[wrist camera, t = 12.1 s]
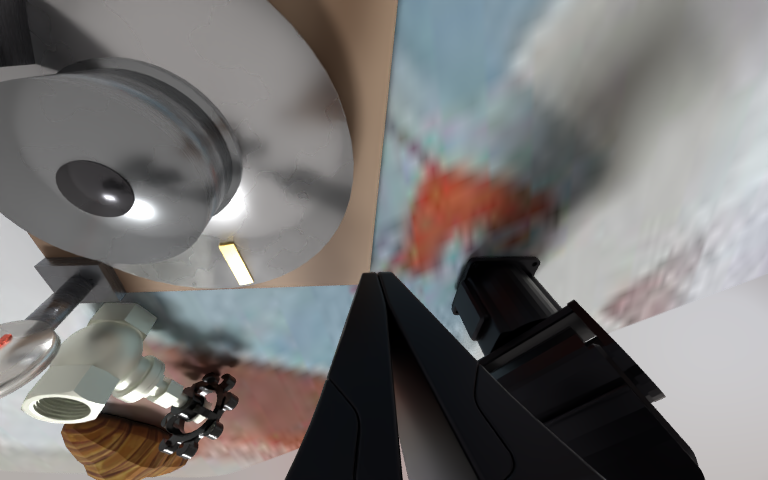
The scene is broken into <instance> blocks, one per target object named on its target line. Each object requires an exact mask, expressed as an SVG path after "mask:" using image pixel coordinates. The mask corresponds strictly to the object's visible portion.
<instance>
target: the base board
mask: <svg viewBox="0 0 768 480" xmlns="http://www.w3.org/2000/svg"><path fill="white" fill-rule="evenodd" d="M268 1H269V2H270V3H271V4H272V5H273V6H274V7H275V8H276V9H277V10H278V11H279V12H280V13H281V14H282V15H283V16H285V17H286V18H287V19H288V20H289V21H290V22H291V23H292V24H293V26H294V27H295V28H296V29H297V30H298V32H299V33H300V34H301V35H302V37H303V38H304V39H305V40H306V41H307V43H308V44H309V45H310V46H311V48H312V49H313V51H314V52H315V54H316V55H317V57H318V58H319V60H320V61H321V63H322V65H323V66H324V68H325V69H326V71H327V73H328V75H329V77H330V79H331V81H332V83H333V85H334V87H335V89H336V91H337V93H338V96H339V99H340V101H341V104H342V107H343V110H344V112H345V116H346V120H347V124H348V129H349V133H350V137H351V142H352V151H353V161H354V166H353V184H352V190H351V195H350V200H349V203H348V206H347V209H346V212H345V215H344V217H343V219H342V221H341V223H340V225H339V227H338V229H337V230H336V232H335V233H334V235H333V236H332V238H331V239H330V240H329V242H328V243H327V244H326V245H325V246H324V247H323V248H322V249H321V250H320V251H319V252H318V253H317V254H316V255H315V256H314V257H312V258H311V259H310V260H309V261H308V262H306V263H305V264H303V265H301V266H300V267H298V268H297V269H295V270H293V271H291V272H289V273H287V274H285V275H283V276H281V277H278V278H275V279H272V280H269V281H266V282H262V283H258V284H254V285H250V286H243V287H235V288H218V289H243V288H272V287H300V286H329V285H357V284H359V281H360V278H361V275H362V273H366V272H370V263H371V253H372V244H373V234H374V224H375V215H376V205H377V196H378V186H379V176H380V167H381V157H382V148H383V138H384V129H385V119H386V109H387V100H388V90H389V81H390V71H391V61H392V52H393V42H394V33H395V23H396V13H397V4H398V0H268ZM28 234H29V235H30V237H31V238H32V239H33V241H34V242H35V244H36V245H37V246H38V248H39V249H40V250H41V252H42V253H43V255H44V256H45V257H46V258H47V257H82V256H79V255H76V254H73V253H70V252H68V251H65V250H62V249H60V248H58V247H55V246H53V245H51V244H49V243H47V242H45V241H43V240H41V239H39V238H37V237H35V236H33V235H32V234H30V233H28ZM113 269H114V271H115V272H116V274H117V276H118V278H119V279H120V281H121V283H122V285H123V286H124V288H125V290H126V292H127V293H129V292H157V291H186V290H214V289H210V288H193V287H184V286H176V285H171V284H166V283H162V282H157V281H153V280H149V279H146V278H142V277H139V276H135V275H132V274H130V273H127V272H124V271H122V270H119V269H116V268H113Z"/></svg>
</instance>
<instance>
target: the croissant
mask: <svg viewBox="0 0 768 480" xmlns="http://www.w3.org/2000/svg"><path fill="white" fill-rule="evenodd" d="M61 434H62V437H63V440H64V443H65V445H66V447H67V448H68V450H69V451H70V452H71V453H72V455H73V456H74V457H75V458H76V459H77V461H79V462H80V463H82V464H83V465H84V467H85V469H86V471H87V474H88V475H89V476H91V477H93V478H94V479H96V480H141V479H143V478H145V477H156V476H159V475H163V474H167V473H171V472H173V471H175V470H177V469H179V468H181V467H182V466H184V465H185V464H186V462H187V461H188V459H185V458H182V457H179V456H177V455H176V451H175V452H174V453H173V454H170V455H169V454H166V453H163V452H161V451H159V449H158V447H159V444H160V442H161V441H162V440H163V438H165V439H167V440H168V439H170V438H171V437H172V436H170V435H169V434H168V433H166V432H165V431H163V430H161V429H159V428H158V427H155V426H151V425H147V424H143V423H138V422H134V421H130V420H128V419H125V418H121V417H117V416H112V415H107V414H103V413H99V414H98V416H97V417H96V419H94V420H91V421H86V422H81V423H71V424H64V426H63V429H62V431H61ZM183 446H184V443H181V444H180V446H179V448H182V447H183Z"/></svg>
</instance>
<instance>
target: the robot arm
mask: <svg viewBox="0 0 768 480" xmlns="http://www.w3.org/2000/svg"><path fill="white" fill-rule="evenodd" d="M475 263H476V264H475ZM473 264H474V265H473ZM539 265H540V260H539V259H538V258H537V257H495V258H472V259H470V260H469V262H468V264H467V266H466V269H465V272H464V275H463V278H462V280H461V282H460V284H459V287H458V290H457V293H456V296H455V298H454V301H453V302H454V303H453V306H452V309H451V310H452V312H453V314H454V315H460V317H461V319H462V321H463V323H464V325H465V327H466V330H467V332H468V334H469V336H470V338H471V339H472V340H473V341H477V342H478V344H479V346H480V348H481V350H482V352H483V354H484V357H482V358H481V359H479V360H478V361H477V360H476V359H475V358H474V357H473V356H472V355H471V354H470V353H469V352H468V351H467V350H466V349H465V348H464V347H463V346H462V345H461V343H460V342H459V341H458V340H457V339H456V338H455V337H454V336H453V335H452V334H451V333H450V332H449V331H448V330H447V329H446V328H445V327H444V326H443V325H442V324H441V323H440V322H439V321H438V320H437V318H436V317H435V316H434V315H433V314H432V313H431V312H430V311H429V310H428V309H427V308H426V307H425V306H424V305H423V304H422V303H421V302H420V301H419V300H418V299H417V298H416V297H415V296H414V295H413V294H412V292H411V291H410V290H409V289H408V288H407V287H406V286H405V285H404V284H403V283H402V282H401V281H400V280H399V279H398V278H397V277H396V276H395V275H394V274H393V273H392V272H379V273H375V272H366V273H362V275H361V278H360V281H359V284H358V287H357V290H356V293H355V296H354V299H353V302H352V305H351V307H350V310H349V313H348V316H347V319H346V322H345V325H344V328H343V331H342V334H341V337H340V340H339V343H338V346H337V349H336V352H335V355H334V358H333V361H332V364H331V367H330V370H329V373H328V376H327V380H326V381H325V384H324V387H323V390H322V393H321V396H320V399H319V401H318V404H317V407H316V409H315V412H314V415H313V417H312V420H311V423H310V425H309V427H308V430H307V432H306V434H305V437H304V439H303V441H302V443H301V446H300V448H299V450H298V453H297V455H296V457H295V459H294V461H293V463H292V466H291V467H290V470H289V472H288V474H287V476H286V478H285V480H403V478H402V466H401V455H400V445H399V439H400V443H401V448H402V452H403V457H404V461H405V465H406V470H407V474H408V478H409V480H705V478H704V475H703V473H702V471H701V469H700V468H699V467H698V463H697V459H696V457H695V454H694V452H693V451H692V450H691V448H690V447H689V446H688V445H687V443H686V442H685V441H684V440H683V439H682V438H681V437H680V436H679V434H678V433H677V432H676V431H675V430H674V429H673V428H672V427H671V425H670V424H669V423H668V422H667V421H666V420H665V419H664V418H663V416H662V415H661V414H660V413H659V412H658V411H657V410H656V409H655V407H654V406H653V405H652V404H651V403H652V402H654V401H655V402H656V401H658V400H660V399H663V398H665V395H664V394H663V393H662V392H661V390H660V389H659V388H658V387H657V386H656V385H655V384H654V382H652V380H651V379H650V378H649V377H648V376H647V375H646V374H645V373H644V371H643V370H642V369H641V368H640V367H639V366H638V365H637V364H636V363H635V362H634V361H633V360H632V359H631V357H630V356H629V355H628V354H627V353H626V352H625V351H624V350H623V349H622V348H621V347H620V346H619V345H618V344H617V343H616V342H615V341H614V340H613V339H612V338H611V337H610V336H609V335H608V334H607V333H606V332H605V331H604V330H603V328H602V327H601V326H600V325H599V324H598V323H597V322H596V321H595V320H594V319H593V318H592V317H591V316H590V315H589V314H588V313H587V312H586V311H585V310H584V309H583V308H582V307H581V306H580V305H579V304H578V303H577V302H576V301H575V300H572V301H571V302H569V303H567V306H565V307H564V308H561V307H560V306H559V305H558V303H557V302H556V301H555V300H554V299H553V298H552V296H551V295H550V294H549V293H548V292H547V291H546V290H545V288H544V287H543V286H542V285H541V284H540V283H539V282H538V280H537V279H536V278H535V277H534V274H535V272H536V270H537V268H538V267H539ZM594 336H595V337H594ZM592 337H594V338H593V339H591V338H592ZM589 339H591V340H589ZM587 340H589V341H587ZM585 341H587V342H585Z"/></svg>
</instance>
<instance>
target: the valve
mask: <svg viewBox="0 0 768 480" xmlns="http://www.w3.org/2000/svg"><path fill="white" fill-rule="evenodd" d="M156 320H157V318H156V317H155V316H154V315H153V314H151V313H150V312H149V311H147V310H146V309H144V308H143V307H142V306H140V305H139V304H137V303H112V302H107V303H104V304H103V305H102V306H101V308H100V309H99V310H98V311H97V312H96V314H95V315H94V316H93V317H92V318H91V319H90V321H89V323H88V325H87V327H85V328H82V329H80V330H79V331H77V332H75V333H74V334H72V335H71V336H70V337H69V338H67V339H66V340H65V341H64V342H63V343H62V344H61V345H60V349H59V351H58V353H57V355H56V357H55V358H54V359H53V361H52V362H51V363H50V368H49V369H48V370H47V372H46V373H45V374H44V375H43V376H42V378H41V379H40V380H39V381H38V382H37V383H36V385H35V386H34V387H33V388H32V389H31V391H30V392H29V393H28V395H27V396H26V398H25V400H24V402H23V404H22V407H21V410H22V411H23V412H25V413H26V414H28V415H29V416H31V417H33V418H36V419H39V420H42V421H47V422H52V423H63V424H71V423H81V422H86V421H91V420H94V419H96V417H97V416H98V414H99V413H100V411H101V410H102V408H103V407H104V405H105V404H106V402H107V400H108V399H109V397H110V395H111V394H113V396H114V397H115V398H117V399H120V400H122V401H124V402H126V403H132V402H135V401H137V400H139V399H141V398H142V397H144V398H146V397H147V399H148V400H150V401H152V402H154V403H156V404H158V405H160V406H162V407H164V408H166V409H167V408H168V407H170V406H171V405H172V407H171V412H170V413H168V414H167V415H166V416H165V417H164V418H163V420H162V422H161V426H162V427H164V428H166V430H167V431H168V432H169V433H171V434H173V436H172V437H171V438H170V439H168V440H167V439H165V438H163V440H162V441H161V442H160V444H159V447H158V449H159V451H161V452H163V453H166V454H169V455H170V454H173V453H174V452H175V451H176V455H177V456H179V457H182V458H185V459H190V458H191V457H193V456H194V455H195V453H196V452H197V450H198V442H199V440H200V439H201V438H202V437H204V436H206V437H208V438H210V439H212V440H214V439H217V438H218V437H219V436H220V435H221V433H222V431H223V424H221V423H220V422H219V419H220V418H221V416H222V414H223V412H224V411H226V410H232V409H234V408H235V407H236V405H237V404H238V400H239V399H238V397H237V396H235V395H234V394H232V393H231V392H228V390H230V389H232V388H233V387H234V385H235V383H236V379H235V378H234V377H232V376H231V375H230V374H224V375H223V376H222V377H221V378H222V379H224V380H223V382H222V383H221V384H219V385H218V382H219V380H220V378H219V376H217V375H216V374H214V373H213V372H211V373H208V374H206V375H205V376H204V377H203V379H202V380H203V381H200V382H197V383H195V384H193V385H192V386H191V387H187V388H185V389H184V390H183V388H184V386H182V385H180V384H179V383H177V382H175V381H174V380H172V379H169V378H166V377H165V378H164V376H165V375H163V373H164V371H165V364H164V363H163V362H162V361H160V360H159V359H157V358H156V357H154V356H145V357H143V356H142V351H143V341H144V339H145V338H146V336H147V334H148V333H149V331H150V330H151V328H152V326H153V325H154V323H155V321H156ZM212 392H216V394H217V403H216V406H215V409H214V411H211V405H212V404H211V403H209V402H208V401H206V397H204V396H205V395H207V394H209V393H212ZM227 392H228V393H227ZM205 418H207V419H208V420H207V421H206V422H205V423H204V424H203V425H202V426H201V427H200V428H198V429H197V430H195V431H193V432H191V433H185V432H184V423H185V421H186V422H190V421H193V422H195V423H197V424H198V423H200V422H201V421H203V420H204V419H205ZM181 443H184V446H183V447H182V448H179V446H180V444H181Z"/></svg>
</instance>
